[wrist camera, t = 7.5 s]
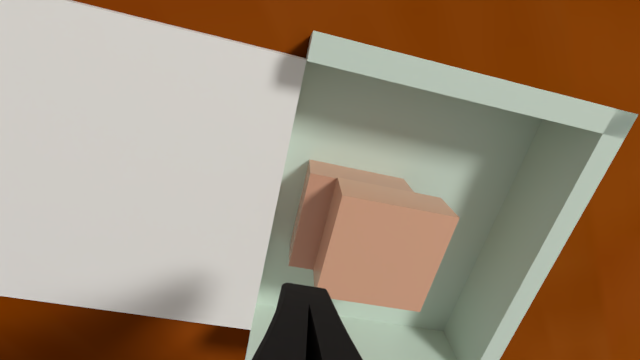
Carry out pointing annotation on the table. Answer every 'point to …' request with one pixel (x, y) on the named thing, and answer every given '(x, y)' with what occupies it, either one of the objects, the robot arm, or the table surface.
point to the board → (138, 162)
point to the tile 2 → (382, 245)
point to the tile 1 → (325, 206)
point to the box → (444, 188)
